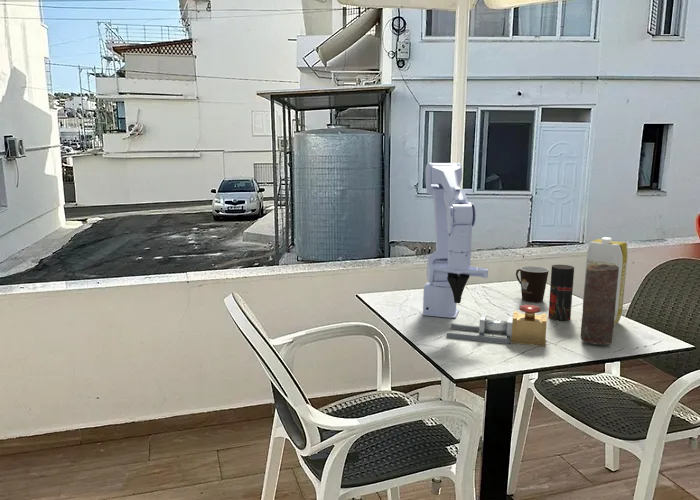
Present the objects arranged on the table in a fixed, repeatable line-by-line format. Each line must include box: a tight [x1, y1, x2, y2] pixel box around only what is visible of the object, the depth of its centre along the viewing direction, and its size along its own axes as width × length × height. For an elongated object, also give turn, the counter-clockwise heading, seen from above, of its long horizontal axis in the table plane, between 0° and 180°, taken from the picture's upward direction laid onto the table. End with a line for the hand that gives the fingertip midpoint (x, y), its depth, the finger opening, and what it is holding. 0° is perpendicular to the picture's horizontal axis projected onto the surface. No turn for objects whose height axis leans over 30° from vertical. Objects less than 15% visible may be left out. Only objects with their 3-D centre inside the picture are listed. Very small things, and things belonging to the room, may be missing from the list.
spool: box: [478, 313, 513, 343], centre depth 145 cm, size 8×5×5 cm, turn 72°
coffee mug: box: [515, 265, 550, 304], centre depth 180 cm, size 12×9×10 cm
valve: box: [510, 304, 548, 347], centre depth 142 cm, size 8×6×9 cm
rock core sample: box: [580, 264, 619, 346], centre depth 139 cm, size 8×7×20 cm
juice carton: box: [582, 236, 628, 326], centre depth 155 cm, size 9×8×24 cm
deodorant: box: [547, 264, 575, 322], centre depth 160 cm, size 6×6×15 cm
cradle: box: [446, 322, 510, 345], centre depth 147 cm, size 16×8×1 cm, turn 72°
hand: (457, 302), depth 147 cm, fingers closed
